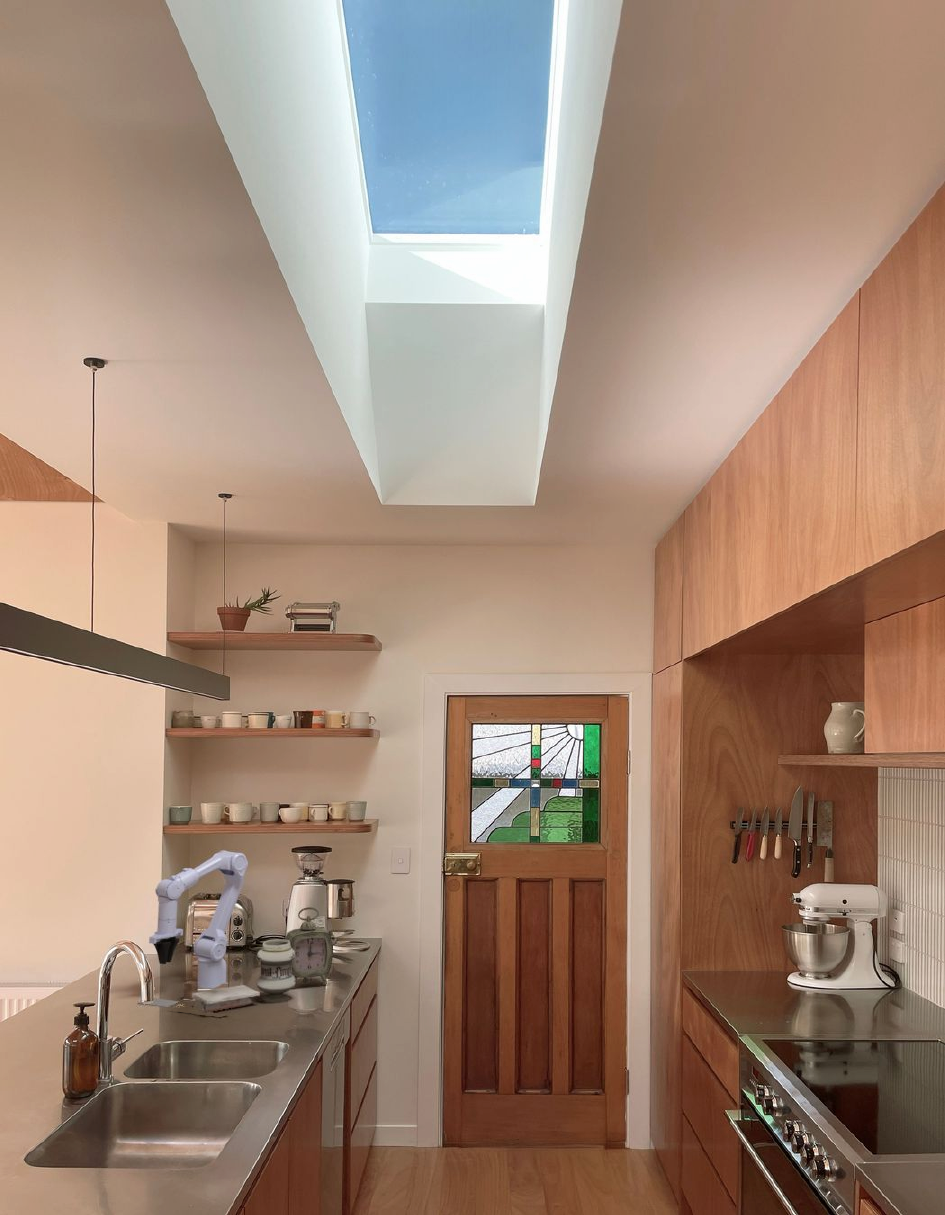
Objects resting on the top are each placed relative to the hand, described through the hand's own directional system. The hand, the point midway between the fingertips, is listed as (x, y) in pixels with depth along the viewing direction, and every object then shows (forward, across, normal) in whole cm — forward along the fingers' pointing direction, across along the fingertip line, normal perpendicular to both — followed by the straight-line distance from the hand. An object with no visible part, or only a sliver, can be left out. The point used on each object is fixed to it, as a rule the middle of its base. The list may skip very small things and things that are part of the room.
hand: (165, 962), depth 337 cm
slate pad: (+11, +7, +3) cm, 13 cm away
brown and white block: (+10, -1, +12) cm, 16 cm away
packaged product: (+8, +1, +20) cm, 22 cm away
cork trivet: (+10, +9, +20) cm, 24 cm away
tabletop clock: (+10, -30, +34) cm, 46 cm away
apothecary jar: (+10, -10, +35) cm, 37 cm away
